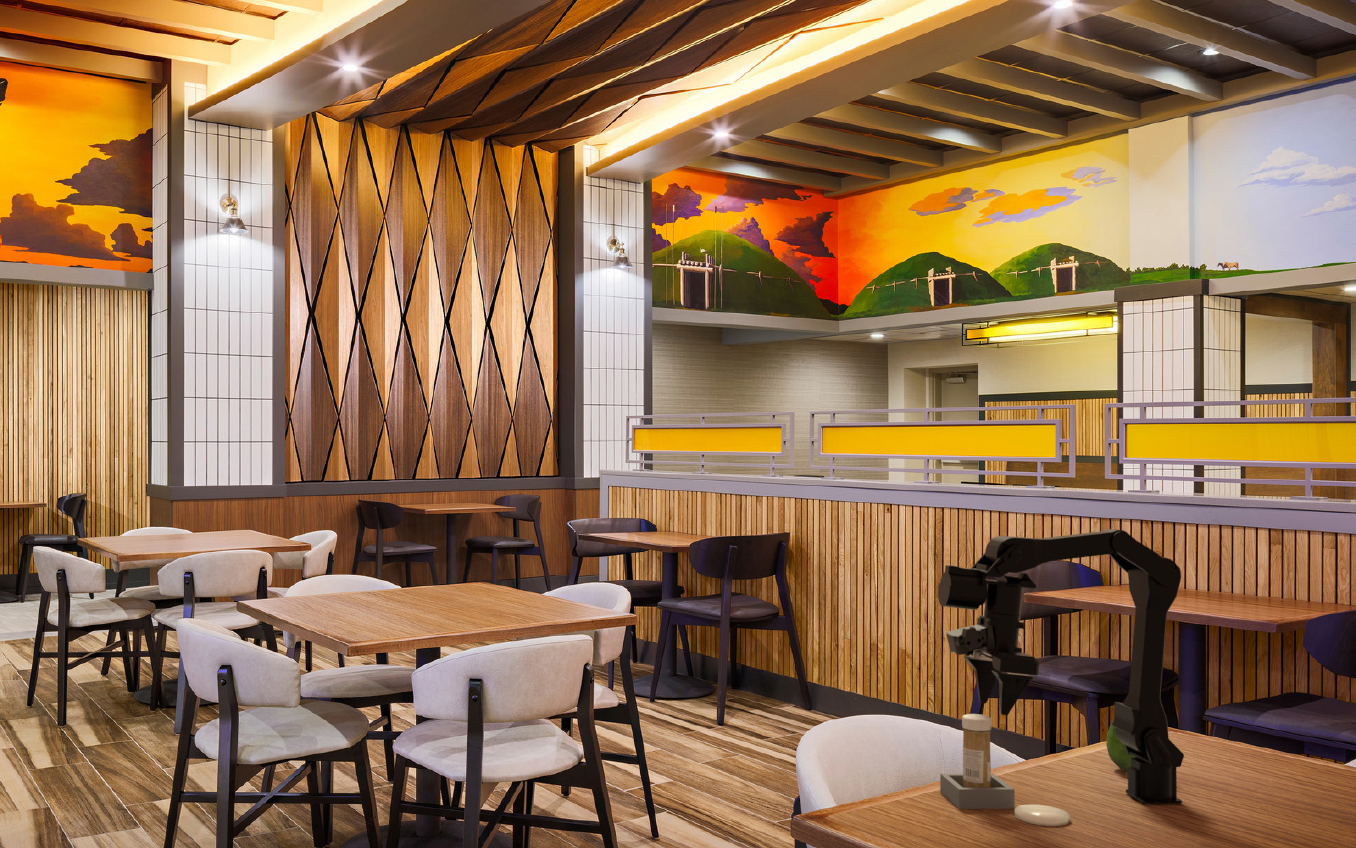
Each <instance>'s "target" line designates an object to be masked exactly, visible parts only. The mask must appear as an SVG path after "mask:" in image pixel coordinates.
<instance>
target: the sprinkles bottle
mask: <svg viewBox="0 0 1356 848" xmlns="http://www.w3.org/2000/svg"><path fill="white" fill-rule="evenodd" d="M961 718H962V719H961V726H962V730H963V731H962V733H963V734H962V738H963V739H962V740H963V742H962V774H963V788H990V781H991V774H992V773H991V772H992V771H991V770H992V769H991V768H992V767H991V765H992V763H991V730H992V718H991V717H990V716H988V715H987V714H986V715H985V714H979V713H978V714H977V713H968V714H967V713H966V714H964V715H962V717H961Z"/></svg>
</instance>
